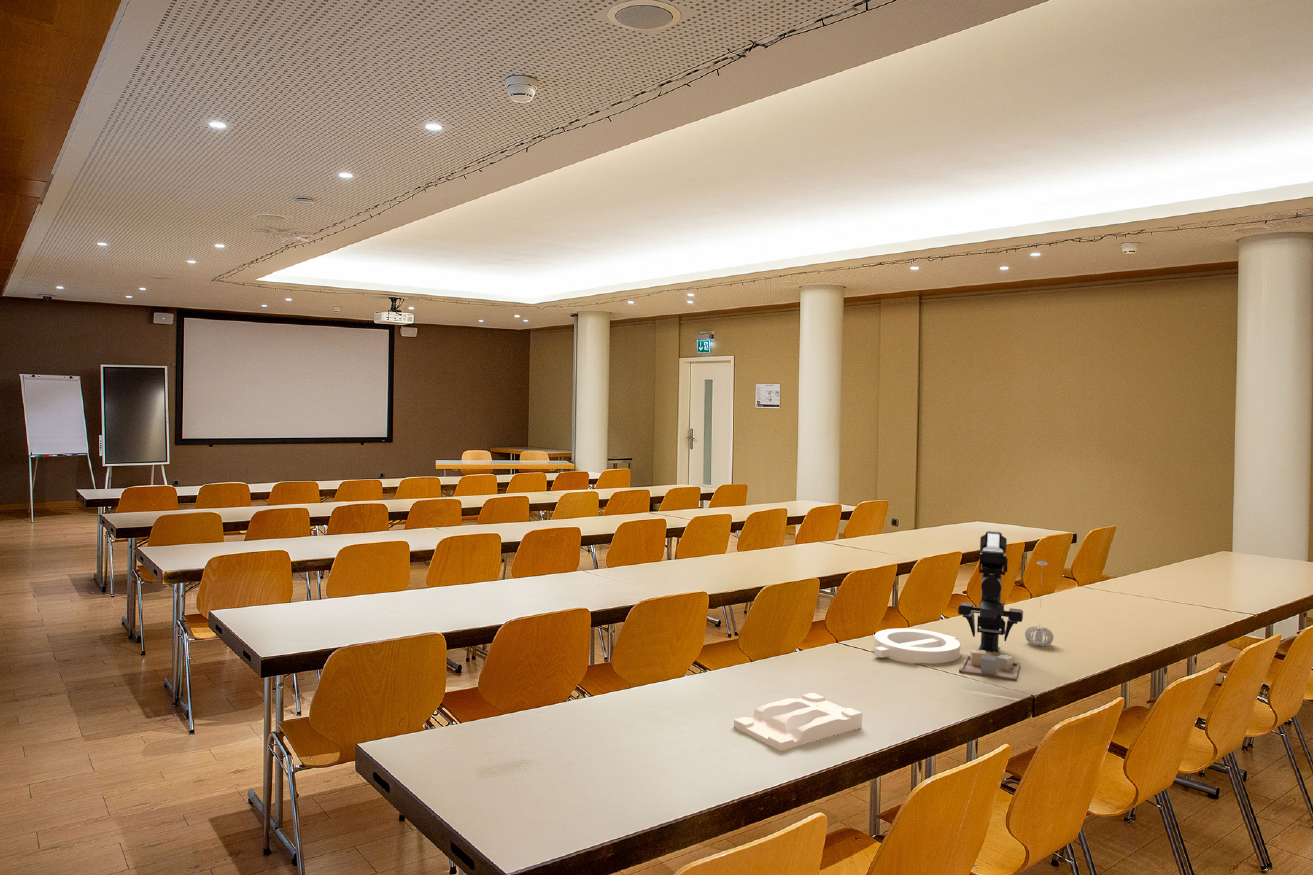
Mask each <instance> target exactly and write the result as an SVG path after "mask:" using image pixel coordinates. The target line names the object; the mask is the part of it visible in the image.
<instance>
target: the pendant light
mask: <svg viewBox="0 0 1313 875" xmlns="http://www.w3.org/2000/svg"><path fill="white" fill-rule="evenodd" d="M1036 564H1037V565H1039V566H1041V567H1044V566H1047V565H1048V564H1049V563H1047V561H1044V560H1038V561H1037V562H1036ZM1042 575H1043V574H1041V580H1040V582H1041V583H1040V584H1042V579H1043V576H1042ZM1039 602H1040V603H1039V609H1041V605H1042V604H1041V602H1042V599H1040V601H1039ZM1034 633H1035V635H1034ZM1024 637H1025V639H1026V641H1027V642H1028V643H1029V644H1031V645H1033V646H1036V647H1047V646H1049V645H1051V644H1052V643H1053V641H1054V634H1053V632H1052V631H1051V630H1050V629H1049V628H1047V627H1043V626H1041V623H1039V626H1037V625H1034V626H1030V627H1028V628H1027V629H1025V632H1024ZM1043 639H1044V640H1043Z"/></svg>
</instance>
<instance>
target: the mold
mask: <svg viewBox="0 0 1313 875" xmlns="http://www.w3.org/2000/svg"><path fill="white" fill-rule="evenodd" d="M753 712H754V713H753V715H752V716H750V717H747V716H743V717H738V718H735V719H733V728H735V729H736V730H738V731H741V732H743V733H745V734H746V735H749V736H751V737H752V738H754V739H756V740H758V741H760V742H762V743H764V742H765V743H764V744H766V745H767V746H769V745H770V746H769V747H771V746H772V747H771V748H773V747H775V748H776V750H777V749H778V750H777V751H779V750H780V751H779V752H782V751H781V750H784V751H787V750H789V749H788V748H791V749H793V748H792V747H794V748H797V747H800V746H799V745H801V746H804V745H807V744H806V743H808V742H811V743H814V742H813V741H815V742H817V741H816V740H818V739H821V740H824V739H823V738H825V739H827V738H826V737H828V738H831V737H834V736H833V735H835V736H838V735H842V734H845V733H848V732H847V731H849V732H851V730H852V731H855V730H857V729H856V728H859V729H862V728H863V712H861V711H858V710H856V709H854V708H851V707H846V708H845V707H843V706H840V705H838V704H836V703H833V702H831V701H829V700H826V697H825V696H822V695H820V694H818V693H815V692H809V693H806V694H802V695H801V697H799V698H792V697H789V698H784V699H781V700H780V699H779V700H777V701H773V702H769V703H766V704H763V705H761V706H759V707H757V708H756V709H755V710H754V711H753ZM861 727H862V728H861ZM854 729H855V730H854ZM844 732H845V733H844ZM837 734H838V735H837ZM818 741H819V740H818ZM803 744H804V745H803ZM808 744H809V743H808ZM796 746H797V747H796ZM775 748H774V749H775ZM786 749H787V750H786Z"/></svg>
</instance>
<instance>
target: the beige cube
mask: <svg viewBox="0 0 1313 875" xmlns="http://www.w3.org/2000/svg"><path fill="white" fill-rule="evenodd" d="M1013 662H1014V656H1012V655H1007V654H1003V653H1002V654H999V655H998V656H996V668H1000V669H1004V670H1008V669H1011V668H1013Z"/></svg>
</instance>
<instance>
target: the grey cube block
mask: <svg viewBox="0 0 1313 875" xmlns="http://www.w3.org/2000/svg"><path fill="white" fill-rule="evenodd" d="M996 657H997V656H994V655H988V654H987V655H983V656H982V658H981V673H985V674H992V675H995V673H996Z"/></svg>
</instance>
